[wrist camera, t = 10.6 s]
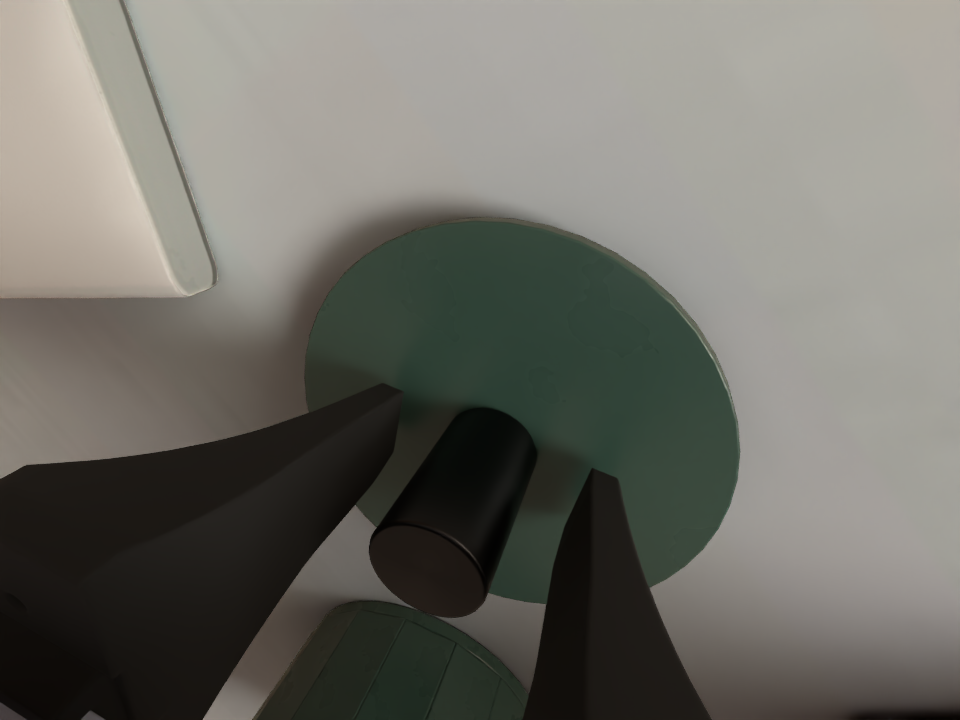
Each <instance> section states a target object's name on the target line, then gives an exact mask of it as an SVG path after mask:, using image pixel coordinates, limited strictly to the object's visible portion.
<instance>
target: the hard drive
mask: <svg viewBox="0 0 960 720" xmlns="http://www.w3.org/2000/svg"><path fill="white" fill-rule="evenodd" d="M217 282H218V270H217V265H216V262H215V259H214V256H213V253H212V250H211V247H210V244H209V241H208V238H207V235H206V232H205V229H204V227H203V224H202V221H201V217H200V214H199V211H198V208H197V206H196V203H195V200H194V197H193V194H192V191H191V188H190V185H189V182H188V180H187V177H186V174H185V171H184V168H183V165H182V162H181V160H180V157H179V154H178V151H177V148H176V146H175V143H174V140H173V137H172V134H171V131H170V129H169V126H168V123H167V120H166V117H165V114H164V112H163V109H162V106H161V103H160V100H159V97H158V95H157V92H156V89H155V86H154V84H153V81H152V77H151V74H150V71H149V68H148V65H147V63H146V60H145V57H144V55H143V52H142V49H141V46H140V43H139V40H138V37H137V34H136V31H135V28H134V25H133V22H132V20H131V17H130V14H129V12H128V9H127V6H126V3H125V0H0V298H138V297H147V298H171V297H189V296H192V295H194V294H197V293H200V292H202V291H205V290H208V289H210V288H212V287H213V286H215V285H216V284H217Z"/></svg>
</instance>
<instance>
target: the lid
mask: <svg viewBox="0 0 960 720" xmlns="http://www.w3.org/2000/svg"><path fill="white" fill-rule="evenodd" d="M381 383H384V384H387V385H389V386H392V387H394V388H397V389H399V390H402V391H404V394H403V400H402V406H401V412H400V417H399V423H398V429H397V435H396V441H395V447H394V452H393V454H392V455H391V457H390V458H389V460H388V461H387V463H386V465H385V466H384V468H383V469H382V471H381V472H380V474H379V475H378V477H377V478H376V480H375V481H374V483H373V484H372V485H371V486H370V488H369V489H368V490H367V491H366V493H365V494H364V495H363V496H362V497H361V498H360V500H359V501H358V502H357V503H356V504H355V505H356V506H357V507H358V508H359V509H360V511H361V512H362V513H363V514H364V515H365V516H366V517H367V518H368V519H369V520H370V521H371V522H372V523H373V524H374V525H375V526H376V527H377V528H376V529H375V531H374V532H373V534H372V536H371V539H370V544H369V556H370V560H371V564H372V566H373V568H374V570H375V572H376V574H377V575H378V577H379V578H380V580H381V581H382V582H383V584H384V585H385V586H386V587H387V588H388V589H389V590H390V591H391V592H392V593H393V594H395V595H396V596H397V597H398V598H400V599H401V600H402V601H404V602H405V603H407V604H409V605H410V606H412V607H414V608H416V609H418V610H420V611H423V612H425V613H428V614H431V615H435V616H439V617H447V618H456V617H463V616H467V615H469V614H471V613H473V612H475V611H476V610H477V609H478V608H479V607H480V606H482V604H483V603H484V601H485V600H486V597H487V595H488V593H491V594H494V595H497V596H501V597H505V598H510V599H514V600H519V601H524V602H531V603H541V604H547V598H548V592H549V587H550V581H551V575H552V569H553V564H554V561H555V557H556V554H557V550H558V547H559V543H560V540H561V536H562V533H563V529H564V526H565V524H566V522H567V520H568V518H569V515H570V513H571V511H572V509H573V507H574V505H575V503H576V500H577V498H578V496H579V494H580V492H581V490H582V488H583V486H584V483H585V481H586V479H587V477H588V475H589V473H590V471H591V468H594V469H596V470H599V471H601V472H604V473H606V474H609V475H611V476H614V477H616V478H618V480H619V482H620V486H621V491H622V496H623V501H624V505H625V510H626V514H627V518H628V522H629V526H630V529H631V533H632V536H633V540H634V543H635V546H636V550H637V553H638V556H639V559H640V562H641V566H642V568H643V571H644V574H645V577H646V580H647V583H648V585H649V588H650V587H652V586H654V585H656V584H658V583H660V582H662V581H664V580H666V579H667V578H669V577H670V576H672V575H673V574H675V573H676V572H677V571H679V570H680V569H682V568H683V567H685V566H686V565H687V564H688V563H689V562H690V561H691V560H692V559H693V558H694V557H695V556H696V555H698V554H699V553H700V552H701V551H702V550H703V549H704V547H705V546H706V545H707V543H708V542H709V541H710V539H711V538H712V537H713V535H714V534H715V533H716V531H717V530H718V528H719V526H720V524H721V522H722V520H723V518H724V516H725V514H726V512H727V510H728V508H729V506H730V504H731V500H732V497H733V493H734V490H735V486H736V483H737V479H738V469H739V459H740V443H739V430H738V421H737V417H736V413H735V409H734V405H733V401H732V397H731V393H730V389H729V385H728V382H727V380H726V377H725V375H724V373H723V370H722V368H721V366H720V363H719V361H718V359H717V357H716V354H715V352H714V351H713V349H712V348H711V346H710V344H709V343H708V341H707V340H706V338H705V336H704V335H703V333H702V332H701V330H700V329H699V327H698V325H697V324H696V323H695V321H694V320H693V319H692V318H691V317H690V316H689V315H688V313H687V312H686V311H685V310H684V309H683V308H682V306H681V305H680V304H679V303H678V302H677V301H676V299H675V298H674V297H673V296H672V295H671V294H669V293H668V292H667V291H666V290H665V289H664V288H663V287H662V286H660V285H659V284H658V283H657V282H656V281H655V280H654V279H652V278H651V277H650V276H649V275H648V274H647V273H645V272H644V271H642V270H641V269H639V268H638V267H636V266H635V265H633V264H632V263H630V262H629V261H627V260H626V259H624V258H623V257H621V256H620V255H618V254H617V253H615V252H613V251H611V250H609V249H607V248H605V247H603V246H601V245H599V244H597V243H595V242H593V241H591V240H589V239H587V238H585V237H582V236H580V235H576V234H573V233H570V232H567V231H564V230H561V229H558V228H555V227H552V226H549V225H545V224H539V223H534V222H529V221H523V220H518V219H510V218H488V217H477V218H467V219H456V220H448V221H444V222H440V223H436V224H432V225H428V226H424V227H420V228H418V229H415V230H413V231H411V232H408V233H406V234H404V235H401V236H399V237H396V238H394V239H392V240H390V241H387V242H385V243H384V244H382V245H380V246H379V247H377V248H376V249H374V250H373V251H371V252H369V253H368V254H366V255H365V256H363V257H362V258H361V259H360V260H359V261H357V262H356V263H355V264H354V265H353V266H352V267H351V268H350V269H349V270H347V271H346V272H345V273H344V274H343V276H342V277H341V278H340V279H339V281H338V282H337V283H336V284H335V286H334V287H333V288H332V289H331V291H330V292H329V294H328V295H327V297H326V299H325V301H324V302H323V304H322V306H321V308H320V310H319V311H318V313H317V316H316V319H315V322H314V324H313V327H312V330H311V333H310V337H309V342H308V347H307V352H306V359H305V390H306V401H307V405H308V410H309V413H310V412H313V411H315V410H318V409H320V408H323V407H325V406H327V405H330V404H332V403H335V402H337V401H340V400H342V399H345V398H347V397H349V396H352V395H354V394H357V393H359V392H361V391H364V390H366V389H368V388H371V387H373V386H376V385H378V384H381Z"/></svg>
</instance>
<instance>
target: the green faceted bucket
mask: <svg viewBox="0 0 960 720" xmlns="http://www.w3.org/2000/svg"><path fill="white" fill-rule="evenodd" d="M528 697H529V696H528V694H527V693H526V691H525V690H524V688H523V687H522V685H521V684H520V682H519V681H518V680H517V679H516V678H515V676H514V675H513V674H512V673H511V672H510V671H509V669H507V668H506V667H505V666H504V665H503V664H502V663H501V662H500V661H499V660H498V659H497V658H496V657H495V656H494V655H493V654H491V653H490V652H489V651H488V650H487V649H485V648H484V647H483V646H481V645H480V644H479V643H477V642H476V641H474V640H473V639H472V638H470V637H469V636H467V635H465V634H464V633H462V632H460V631H459V630H457V629H456V628H454V627H452V626H450V625H448V624H446V623H444V622H442V621H440V620H438V619H436V618H434V617H431V616H429V615H427V614H424V613H422V612H419V611H416V610H413V609H410V608H407V607H404V606H399V605H395V604H390V603H384V602H376V601H359V602H351V603H347V604H344V605H340V606H338V607H337V608H335V609H333V610H331V611H330V612H329V613H328V614H327V615H326V616H325V617H324V618H323V620H322V621H321V623H320V624H319V626H318V627H317V628H316V629H315V630H314V631H313V632H312V634H311V635H310V636H309V638H308V639H307V641H306V642H305V643H304V645H303V646H302V648H301V649H300V651H299V652H298V654H297V655H296V657H295V658H294V659H293V661H292V662H291V664H290V665H289V667H288V668H287V670H286V671H285V673H284V674H283V675H282V677H281V678H280V680H279V681H278V683H277V684H276V686H275V687H274V689H273V690H272V691H271V693H270V694H269V696H268V697H267V699H266V700H265V702H264V703H263V705H262V706H261V707H260V709H259V710H258V712H257V713H256V715H255V716H254V718H253V719H252V720H522V719H523V716H524V712H525V708H526V704H527V701H528Z"/></svg>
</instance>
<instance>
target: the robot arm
mask: <svg viewBox="0 0 960 720" xmlns="http://www.w3.org/2000/svg"><path fill="white" fill-rule="evenodd" d="M403 394H404V391H402V390H399V389H397V388H394V387H392V386H389V385H387V384H384V383H381V384H378V385H376V386H373V387H371V388H368V389H366V390H364V391H361V392H359V393H357V394H354V395H352V396H349V397H347V398H345V399H342V400H340V401H337V402H335V403H332V404H330V405H327V406H325V407H323V408H320V409H318V410H315V411H313V412H310V413H307V414H304V415H301V416H298V417H296V418H293V419H290V420H287V421H284V422H281V423H278V424H276V425H273V426H270V427H266V428H263V429H260V430H256V431H253V432H250V433H246V434H242V435H238V436H234V437H231V438H227V439H223V440H218V441H214V442H209V443H204V444H199V445H194V446H189V447H184V448H179V449H174V450H168V451H162V452H156V453H149V454H142V455H135V456H127V457H119V458H111V459H101V460H91V461H78V462H64V463H51V464H36V465H26V466H24V467H22V468H20V469H18V470H16V471H14V472H13V473H11V474H9V475H7V476H5V477H3V478H1V479H0V720H203V718H204V716H205V715H206V713H207V712H208V710H209V708H210V707H211V705H212V703H213V702H214V700H215V698H216V697H217V695H218V694H219V692H220V690H221V689H222V687H223V686H224V684H225V682H226V681H227V679H228V678H229V676H230V675H231V673H232V672H233V670H234V668H235V667H236V665H237V664H238V662H239V661H240V659H241V658H242V656H243V655H244V653H245V651H246V650H247V648H248V647H249V645H250V644H251V642H252V641H253V639H254V638H255V636H256V635H257V633H258V632H259V630H260V629H261V627H262V626H263V624H264V623H265V621H266V620H267V618H268V617H269V615H270V614H271V612H272V611H273V609H274V608H275V606H276V605H277V603H278V602H279V600H280V599H281V598H282V596H283V595H284V593H285V592H286V591H287V589H288V588H289V586H290V585H291V583H292V582H293V581H294V579H295V578H296V576H297V575H298V573H299V572H300V571H301V569H302V568H303V566H304V565H305V564H306V562H307V561H308V560H309V559H310V557H311V556H312V555H313V554H314V552H315V551H316V550H317V549H318V548H319V546H320V545H321V544H322V543H323V542H324V541H325V539H326V538H327V537H328V536H329V535H330V534H331V532H332V531H333V530H334V529H335V528H336V527H337V525H338V524H339V523H340V522H341V521H342V520H343V518H344V517H345V516H346V515H347V514H348V513H349V511H350V510H351V509H352V508H353V507H354V506H355V504H356V503H357V502H358V501H359V500H360V498H361V497H362V496H363V495H364V494H365V493H366V491H367V490H368V489H369V488H370V486H371V485H372V484H373V483H374V481H375V480H376V478H377V477H378V475H379V474H380V472H381V471H382V469H383V468H384V466H385V465H386V463H387V461H388V460H389V458H390V457H391V455H392V454H393V452H394V447H395V441H396V435H397V429H398V423H399V417H400V412H401V406H402V400H403ZM522 720H712V719H711V717H710V715H709V713H708V711H707V710H706V708H705V706H704V704H703V702H702V701H701V699H700V697H699V695H698V693H697V692H696V690H695V688H694V686H693V684H692V683H691V681H690V679H689V677H688V675H687V673H686V671H685V669H684V667H683V665H682V662H681V660H680V658H679V656H678V654H677V652H676V650H675V648H674V646H673V644H672V641H671V639H670V637H669V635H668V633H667V630H666V628H665V626H664V624H663V621H662V619H661V616H660V614H659V612H658V609H657V607H656V604H655V602H654V599H653V596H652V594H651V591H650V588H649V585H648V583H647V580H646V577H645V574H644V571H643V568H642V566H641V562H640V559H639V556H638V553H637V550H636V546H635V543H634V540H633V536H632V533H631V529H630V526H629V522H628V518H627V514H626V510H625V505H624V501H623V496H622V491H621V486H620V482H619V480H618V478H616V477H614V476H611V475H609V474H606V473H604V472H601V471H599V470H596V469H594V468H591V471H590V473H589V475H588V477H587V479H586V481H585V483H584V486H583V488H582V490H581V492H580V494H579V496H578V498H577V500H576V503H575V505H574V507H573V509H572V511H571V513H570V515H569V518H568V520H567V522H566V524H565V526H564V529H563V533H562V536H561V540H560V543H559V547H558V550H557V554H556V557H555V561H554V564H553V569H552V575H551V581H550V587H549V592H548V598H547V604H546V610H545V616H544V622H543V628H542V634H541V640H540V646H539V652H538V658H537V663H536V667H535V672H534V677H533V682H532V685H531V689H530V693H529V697H528V701H527V704H526V708H525V712H524V716H523V719H522Z"/></svg>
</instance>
